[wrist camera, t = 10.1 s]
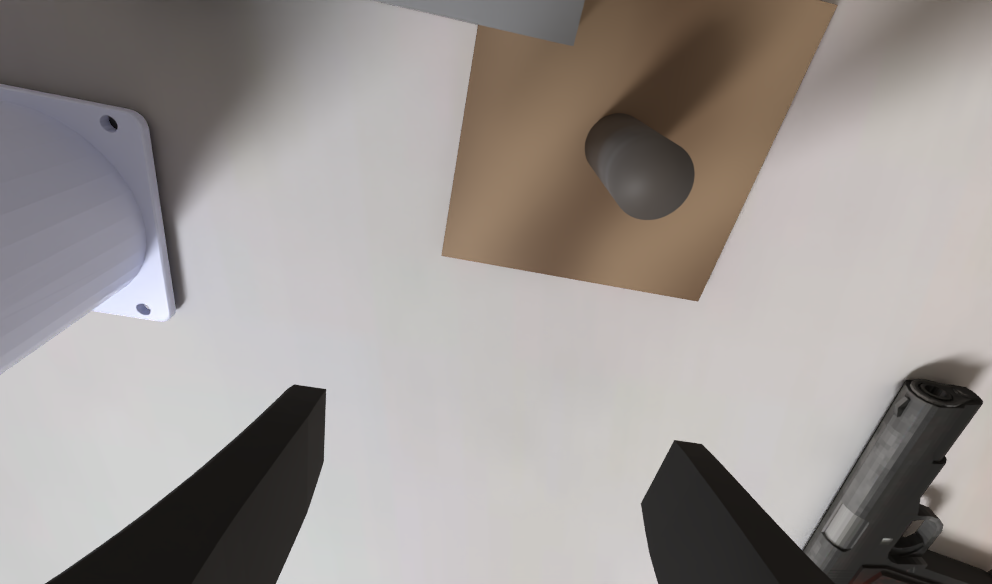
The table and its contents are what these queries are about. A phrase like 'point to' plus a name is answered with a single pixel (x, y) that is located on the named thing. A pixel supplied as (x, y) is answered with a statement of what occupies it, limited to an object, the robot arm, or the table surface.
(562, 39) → the tray
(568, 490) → the table surface
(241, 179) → the table surface
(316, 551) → the table surface
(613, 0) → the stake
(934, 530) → the handgun
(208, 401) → the table surface
